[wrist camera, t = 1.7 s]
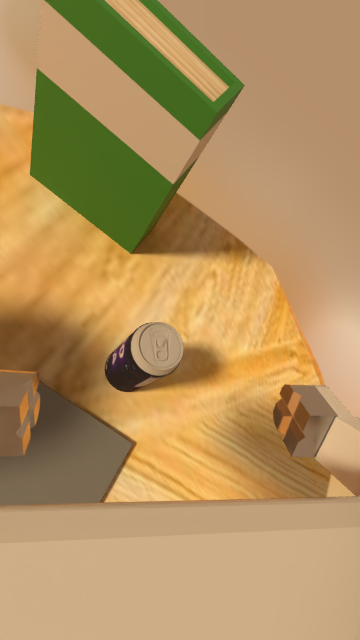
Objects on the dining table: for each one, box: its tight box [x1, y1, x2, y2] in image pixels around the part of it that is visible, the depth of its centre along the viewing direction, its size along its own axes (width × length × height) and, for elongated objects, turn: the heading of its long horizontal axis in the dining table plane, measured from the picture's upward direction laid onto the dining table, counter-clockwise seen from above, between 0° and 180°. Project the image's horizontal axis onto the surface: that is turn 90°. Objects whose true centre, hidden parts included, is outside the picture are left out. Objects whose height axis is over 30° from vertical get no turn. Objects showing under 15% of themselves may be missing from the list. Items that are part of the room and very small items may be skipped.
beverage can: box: [105, 322, 184, 392], centre depth 36 cm, size 6×6×12 cm
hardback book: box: [30, 0, 244, 253], centre depth 38 cm, size 18×7×24 cm, turn 61°
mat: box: [0, 381, 132, 505], centre depth 33 cm, size 12×13×1 cm
